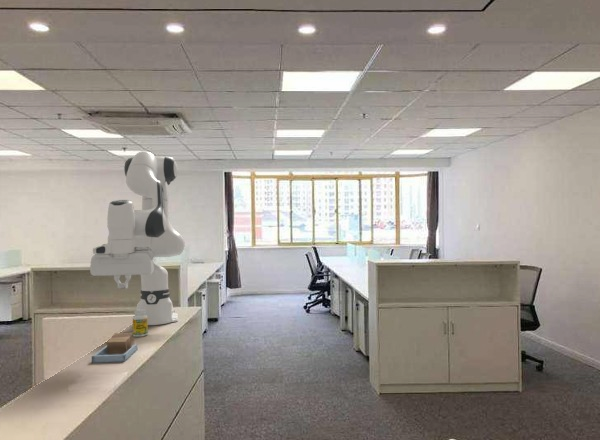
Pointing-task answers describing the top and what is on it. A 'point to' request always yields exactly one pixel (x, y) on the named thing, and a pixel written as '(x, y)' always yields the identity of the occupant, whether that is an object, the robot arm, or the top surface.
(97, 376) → the top surface
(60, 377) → the top surface
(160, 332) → the top surface
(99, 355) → the tray
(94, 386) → the top surface
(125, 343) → the wooden block
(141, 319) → the supplement bottle
